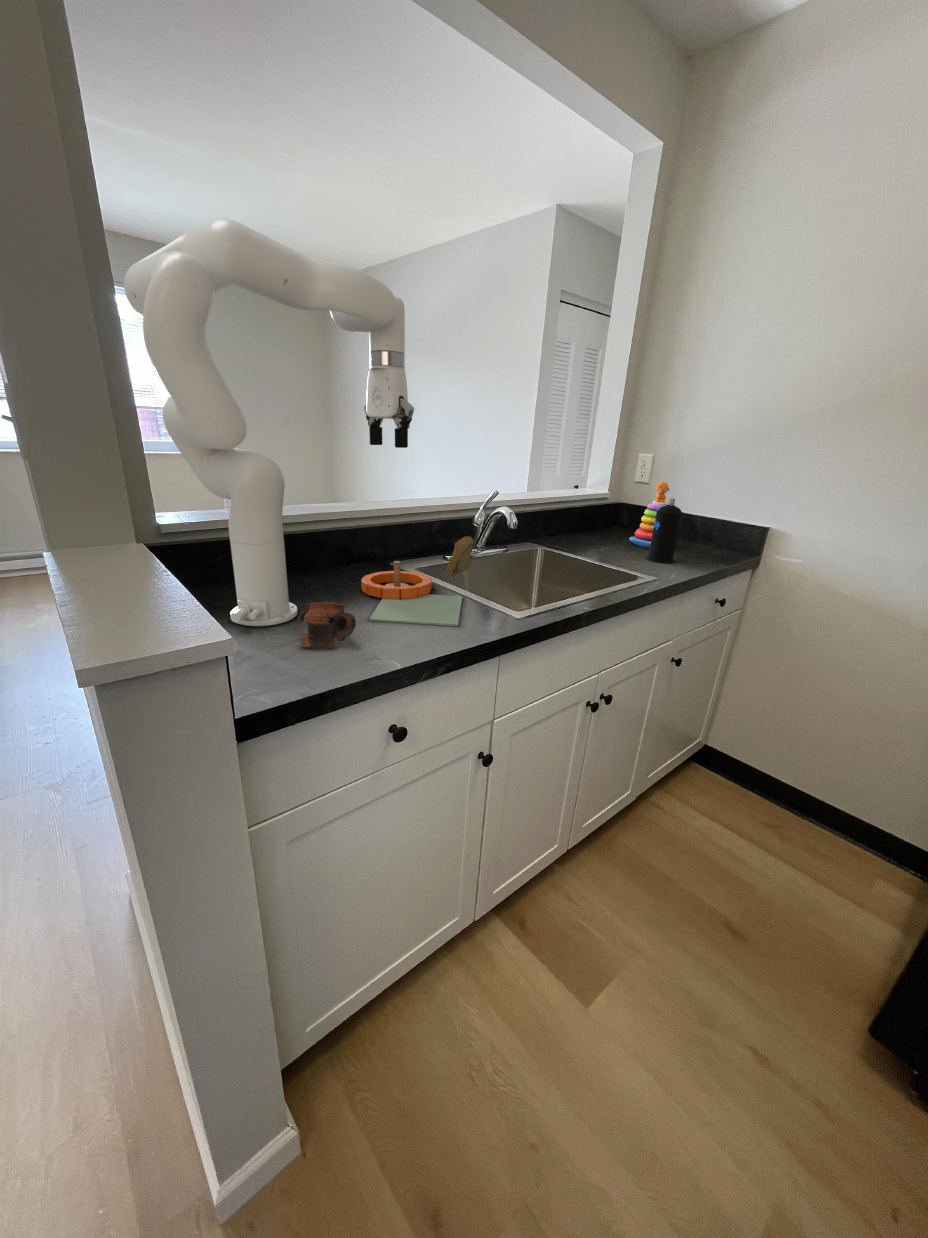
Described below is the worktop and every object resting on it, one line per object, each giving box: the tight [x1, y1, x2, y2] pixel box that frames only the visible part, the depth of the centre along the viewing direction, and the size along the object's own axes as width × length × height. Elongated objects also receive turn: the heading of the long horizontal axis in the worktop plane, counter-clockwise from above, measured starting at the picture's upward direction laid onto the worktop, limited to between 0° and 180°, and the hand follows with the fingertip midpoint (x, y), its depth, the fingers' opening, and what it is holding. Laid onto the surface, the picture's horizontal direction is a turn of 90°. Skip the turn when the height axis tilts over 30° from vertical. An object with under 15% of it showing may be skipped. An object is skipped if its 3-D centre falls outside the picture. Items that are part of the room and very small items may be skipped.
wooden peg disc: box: [384, 560, 410, 587], centre depth 119 cm, size 6×6×7 cm
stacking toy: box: [628, 480, 670, 549], centre depth 181 cm, size 14×13×23 cm
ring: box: [360, 570, 433, 599], centre depth 119 cm, size 16×16×2 cm
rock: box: [444, 535, 474, 576], centre depth 137 cm, size 11×9×10 cm
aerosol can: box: [646, 497, 684, 564], centre depth 160 cm, size 8×8×20 cm
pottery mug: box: [297, 601, 357, 649], centre depth 89 cm, size 12×10×8 cm
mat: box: [369, 593, 463, 627], centre depth 108 cm, size 18×18×1 cm
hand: (388, 446), depth 114 cm, fingers open, 9 cm apart
